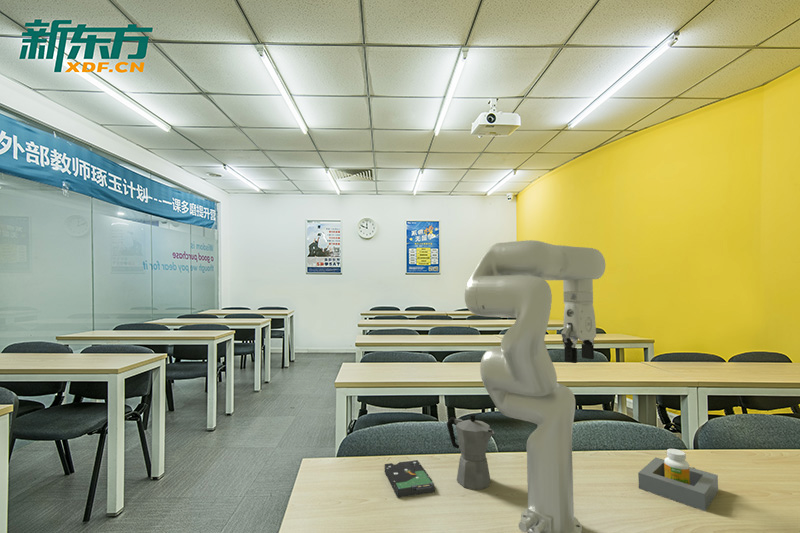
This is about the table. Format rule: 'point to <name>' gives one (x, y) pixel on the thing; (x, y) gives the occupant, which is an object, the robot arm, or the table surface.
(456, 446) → the coffeepot
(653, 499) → the table surface
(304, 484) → the table surface
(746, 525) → the table surface
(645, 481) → the gray rectangular open box
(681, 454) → the supplement bottle
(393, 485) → the disk drive
